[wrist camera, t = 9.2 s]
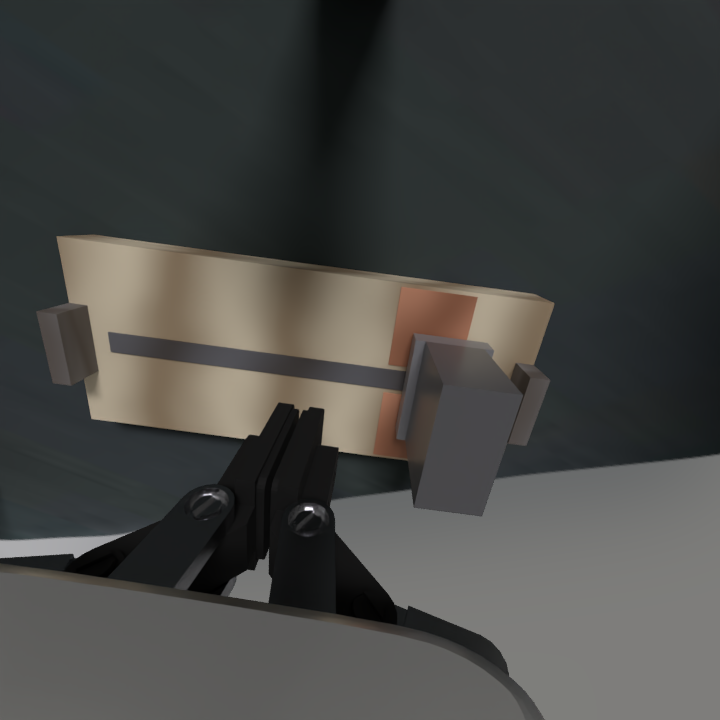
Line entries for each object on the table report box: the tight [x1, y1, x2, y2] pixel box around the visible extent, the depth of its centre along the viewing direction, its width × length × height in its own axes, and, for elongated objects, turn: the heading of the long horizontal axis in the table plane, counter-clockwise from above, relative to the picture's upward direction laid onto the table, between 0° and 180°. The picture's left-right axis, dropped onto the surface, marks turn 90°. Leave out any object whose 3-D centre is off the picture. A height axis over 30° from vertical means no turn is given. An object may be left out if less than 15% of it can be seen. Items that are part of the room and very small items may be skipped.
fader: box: [395, 333, 523, 516], centre depth 17 cm, size 4×6×6 cm, turn 173°
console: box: [37, 235, 555, 461], centre depth 20 cm, size 26×11×4 cm, turn 83°
